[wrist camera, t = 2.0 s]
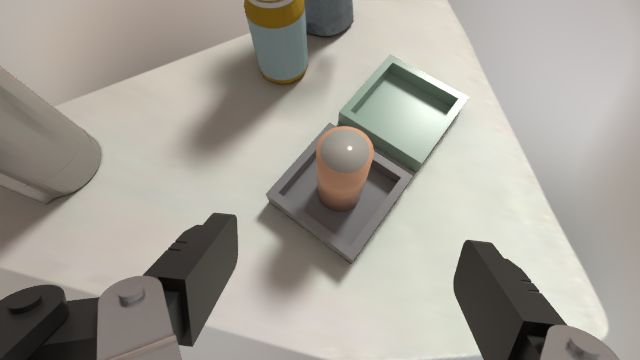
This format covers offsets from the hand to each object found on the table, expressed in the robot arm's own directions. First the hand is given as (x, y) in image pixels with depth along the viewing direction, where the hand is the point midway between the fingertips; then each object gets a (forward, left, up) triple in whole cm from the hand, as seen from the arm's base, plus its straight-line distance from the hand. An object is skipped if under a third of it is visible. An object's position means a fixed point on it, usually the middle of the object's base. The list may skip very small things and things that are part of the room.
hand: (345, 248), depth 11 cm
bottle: (+21, +24, -24) cm, 40 cm away
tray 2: (+10, +6, -24) cm, 27 cm away
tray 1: (+24, +6, -24) cm, 35 cm away
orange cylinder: (+10, +6, -24) cm, 26 cm away
